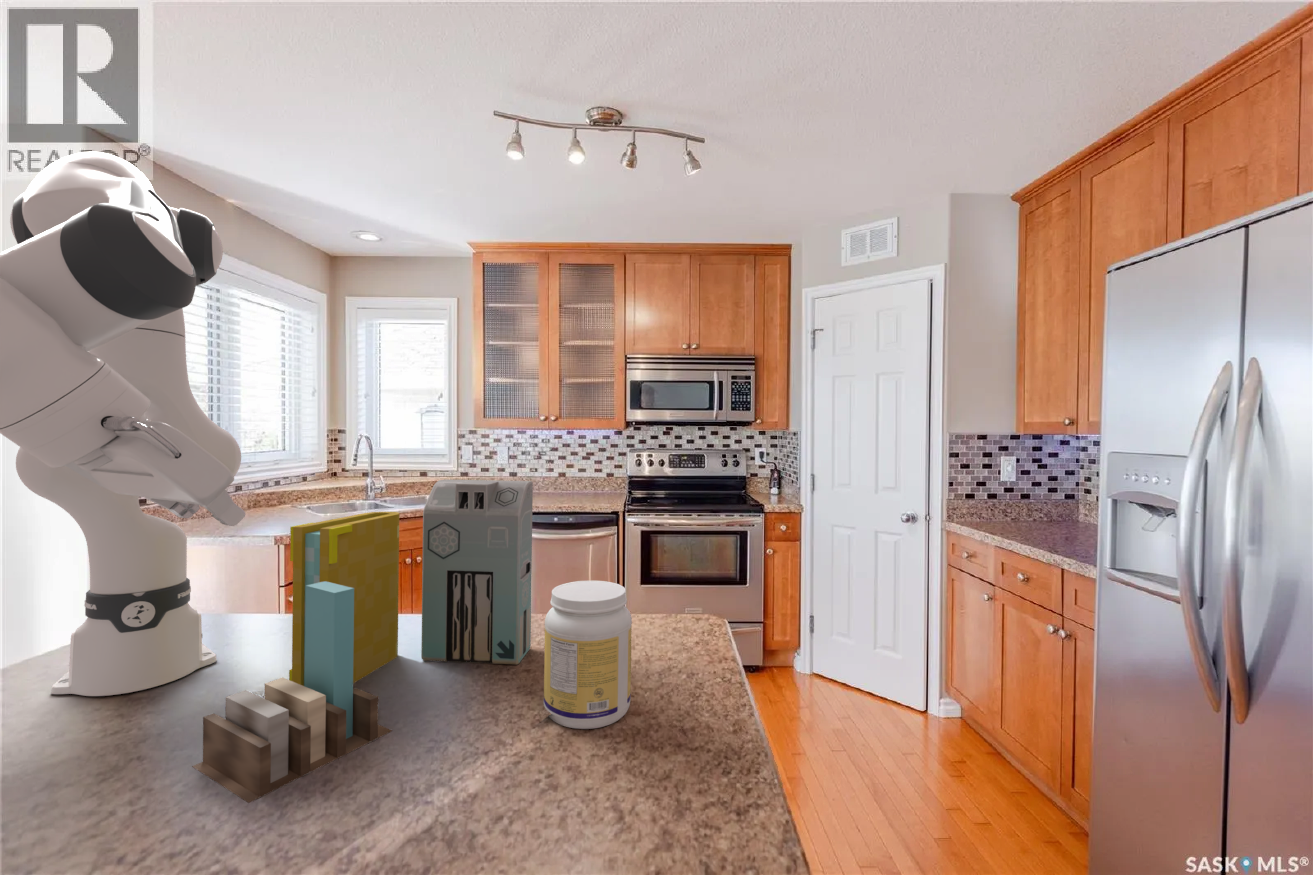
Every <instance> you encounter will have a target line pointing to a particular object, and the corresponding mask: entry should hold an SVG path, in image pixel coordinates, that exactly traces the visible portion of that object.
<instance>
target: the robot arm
mask: <svg viewBox="0 0 1313 875" xmlns="http://www.w3.org/2000/svg"><path fill="white" fill-rule="evenodd" d="M10 212H11V213H10V219H9V223H10V229H11V232H12V235H13V237H14V239H15V241H16V243H17V244H16V245H14V246H12V247H10V248H8V249H6V250H2V251H1V252H0V434H1V435H2V436H3V437H5V438H6V439H7V440H10V441H11V442H12V443H14V444H15V445H16V446H18V447H19V449H18V451H17V453H16V456H15V469H16V472H17V476H18V477H19V480H21V482H22V483H23V485H24V486H25V487H26V488H27V489H29V490H30V491H31V492H32V493H34V494H36V495H37V496H39V497H41V498H43V499H46V500H47V501H49V502H52V503H53V504H55V505H57V506H58V507H59V508H61V509H62V510H64V511H65V512H66V513H68V514H69V516H70V517H71V518H73V519H74V522H76V523H77V525H78V526H79V528H80V529H81V531H82V534H83V535H84V539H85V541H86V545H87V552H88V553H87V554H88V562H89V563H88V564H89V589H88V590H87V591H86V593H85V600H84V605H83V606H84V608H85V614H84V615H85V617H87V618H86V619H85V621H84V622H83V623H82V624H81V625H80V626H78V627H77V628H76V629H75V631H73V632H71V636H70V644H69V646H70V647H69V662H68V663H69V665H68V666H69V668H68V671H67V672H66V673H64V674H63V676H61V677H60V678H59V679H58V680H56V682H55V683H53V684H52V686H51V688H50V694H51V695H69V694H70V695H71V694H72V695H79V696H84V697H85V696H86V697H105V696H113V695H121V694H123V695H124V694H129V693H133V692H138V691H144V690H147V689H151V688H155V687H158V686H161V685H165V684H168V683H171V682H174V681H176V680H178V679H181V678H183V677H185V676H188V675H189V674H191V673H193V672H194V671H197V670H198V669H200V668H203V667H206V666H209V665H212V664H213V663H216V662H217V661H218V660H217V654H216V653H215V652H213V651H212V649H210V648H209V647H208V646H206V645H205V644H204V643H203V632H202V631H203V630H202V625H203V624H202V614H201V613H200V612H198V610H197V609H195V608H193V607H192V606H191V605H190V604H189V602H190V601H191V592H192V588H191V584H190V583H191V582H190V578H188V577H187V571H188V570H187V562H188V560H187V558H188V556H187V552H188V548H187V547H188V537H187V535H186V533H185V531H184V529H182V528H181V527H180V525H178V524H176V523H175V522H172V521H170V520H168V519H165V518H163V517H162V518H161V517H158V516H155V515H151V514H148V513H145V512H144V511H143V510H142V508H141V506H140V499H139V497H141V498H145V499H146V500H148V501H150V502H152V503H154V504H156V505H158V506H159V507H162V508H164V509H167V510H168V511H169V512H170V513H172V514H174V515H175V516H176V517H177V518H182V519H190V518H192V517H193V516H194V514H196V513H197V512H198V511H199V510H200V507H201V508H202V507H203V508H204V509H205V510H207V512H210V514H211V517H212V518H214V519H215V520H217V521H218V522H219V523H220V524H222V525H224V526H229V527H235V526H237V525H238V524H239V523H240V522H241V521H243V519H244V518H245V517H246V511H245V510H244V509H243V508H241V507H240V506H239V505H238V504H236V503H235V501H234V500H233V498H232V497H231V495H230V494H229V492H228V491H227V488H229V486H230V485H231V484H233V482H234V481H235V476H236V475H237V473H238V471H239V469H240V466H241V462H242V452H241V447H240V446H239V443H238V441H237V440H236V438H235V437H234V436H233V435H232V433H230V432H229V431H227V430H226V429H224V428H222V427H220V426H219V425H218V424H216V422H214V421H213V420H212V419H211V418H209V417H208V415H207V414H206V413H205V412H204V411H203V410H202V408H201V407H200V405H199V404H198V402H197V401H196V399H195V397H194V395H193V392H192V390H191V386H190V383H189V375H188V368H187V367H188V365H187V354H186V352H187V351H186V350H187V349H186V347H187V346H186V344H187V343H186V325H185V316H184V308H186V307H188V306H189V305H190V304H191V303H192V302H193V299H194V296H195V291H196V287H197V286H200V285H203V284H206V283H207V282H208V281H210V280H211V279H212V278H214V276H216V275H217V270H218V269H219V268H220V265H221V263H222V260H223V255H224V254H223V252H224V251H223V249H224V248H223V244H222V240H221V237H220V235H219V233H218V231H217V230H216V228H215V225H214V223H213V221H211V220H210V219H209V218H208V216H206V215H204V214H202V213H199V212H196V211H193V210H191V209H186V208H183V207H180V208H179V209H178V208H175V207H170V206H168V205H167V204H166V202H165V201H164V200H163V199H162V198H161V197H160V196H159V195H157V193H156V192H155V189H154V187H153V186H152V183H151V182H150V180H149V179H148V178H147V177H146V175H145V174H144V173H143V172H142V171H140V169H138V168H137V167H136V166H135V165H133V164H132V163H131V162H128V161H127V160H125V159H123V158H121V157H118V156H116V155H113V154H109V153H106V152H101V151H100V152H99V151H82V152H77V153H74V154H70V155H67V156H63V157H61V158H59V159H58V160H55V161H54V162H51V163H50V164H49V165H48V166H46V167H45V168H44V169H43V170H41V171H40V172H39V173H38V174H37V175H36V176H35V178H33V180H32V181H31V182H30V183H29V185H28V187H27V188H26V190H25V191H24V192H23V193H21V194H20V195H18V196H17V197H16V198H15V199H14V201H13V204H12V209H11V211H10Z"/></svg>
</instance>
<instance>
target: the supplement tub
mask: <svg viewBox="0 0 1313 875" xmlns="http://www.w3.org/2000/svg"><path fill="white" fill-rule="evenodd" d="M627 602H628V599H627V594H626V588H625V586H623V585H621V584H619V583H615V582H611V581H606V580H577V581H571V582H567V583H565V582H564V583H562V584H559V585H557V586H555V587H553V588H552V590H551V599H550V605H551V608H550V609H549V610H548V611H547V613H546V616H545V619H544V669H543V670H544V672H543V673H544V674H543V676H544V677H543V706H544V708H545V710H546V711H547V712H548V713H550V714H549V715H548V718H549V719H550V720H552V722H554V723H556V724H558V725H560V726H564V727H567V728H570V729H571V728H572V729H576V730H578V729H579V730H580V729H581V730H589V729H590V730H591V729H598V728H603V727H606V726H609V725H612V724H614V723H616V722H617V721H619V720H621V719H622V718H623V717H624V716H625V715H626V714H627V711H628V710H629V708H630V705H631V699H632V696H631V695H632V694H631V690H632V689H631V686H632V684H631V683H632V681H631V679H632V631H633V630H632V625H633V620H632V614H631V612H630V610H629V609H628V607H627V606H626V604H627Z"/></svg>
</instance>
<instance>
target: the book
mask: <svg viewBox="0 0 1313 875" xmlns="http://www.w3.org/2000/svg"><path fill="white" fill-rule="evenodd" d="M289 530H290V544H289V545H290V549H289V550H290V552H289V553H290V555H289V556H290V560H289V561H291V562H292V617H291V618H292V620H291V621H292V630H291V631H292V632H291V634H292V636H291V637H292V640H291V644H292V647H291V651H292V652H291V669H288V680H290V681H293V682H295V683H297V684H300V685H302V686H305V610H306V585H310V584H315V583H320V582H324V581H326V582H330V583H335V584H339V585H343V586H347V587H351V588H354V647H353V684H355V683H357V682H358V681H360V680H361V679H363V678H366V676H368V675H369V674H372V673H373V672H375V671H377V670H379V669H380V668H381V667H383V666H385V665H387V664H388V663H390V662H392V661H393V660H395V659H397V657H398V656H399V653H398V652H399V579H400V578H399V577H400V576H399V574H400V572H399V570H400V566H399V565H400V563H399V562H400V512H399V511H371V512H364V513H360V514H353V515H348V516H344V517H337V518H331V519H327V520H323V521H321V520H320V521H317V522H309V523H304V524H298V525H293V526H290V529H289Z"/></svg>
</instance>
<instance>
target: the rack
mask: <svg viewBox="0 0 1313 875" xmlns="http://www.w3.org/2000/svg"><path fill="white" fill-rule="evenodd" d="M202 719H203V720H202V723H203V725H202V761H201V762H199V763H196V764H194V765H192V766H191V767H192V768H194V769H195V770H197V771H198V772H200V773H201V774H203V775H204V776H206V777H207V778H209V779H211V780H212V781H214V782H215V783H216V784H218V785H220V786H221V787H222V788H224V789H226V790H228V791H229V792H231V793H232V794H234V795H235V796H237V797H238V798H240V799H241V800H243V801H245V802H246V803H248V804H249V803H252V802H253V801H256V800H258V799H259V798H261V797H262V798H263V797H264V796H266V795H267V794H270V793H272V792H273V791H276V790H278V789H279V788H282V787H283V786H285V785H288V784H289V783H292V782H294V781H295V780H298V779H299V778H300V779H301V777H303V776H305V775H307V774H310V773H312V772H314V771H316V770H317V769H319V768H321V767H324V766H326V765H327V764H329V763H331V762H333V761H335V760H337V759H338V760H339V758H341V757H343V756H346V755H347V754H349V753H352V752H353V751H355V750H357V749H360V748H361V747H364V746H365V745H367V744H370V743H371V742H373V741H375V740H377V739H379V738H382V737H384V736H385V735H387V734H389V733H391V732H393V729H390V728H388V727H386V726H383V725H380V724H379V696H377V695H375V694H372V693H369V692H367V691H364V690H363V689H362V690H361V689H360V688H356V687H354V686H353V736H351V737H349V738H347V739H346V710H344V709H342V708H339V707H337V706H334V705H332V704H330V703H327V702H326V727H325V757H323V758H321V759H319V760H317V761H315V762H313V763H311V764H310V750H311V726H310V725H308V724H306V723H303V722H301V721H299V720H297V719H295V718H293V717H291V716H289V732H288V775H286V776H284V777H282V778H280V779H278V780H276V781H274V782H272V783H270V782H271V743H270V742H268V741H266V740H264V739H262V738H260V737H258V736H256V735H254V734H252V733H251V732H249V731H247V730H245V729H243V728H241V727H239V726H237V725H235V724H233V723H232V722H230V721H228V720H226V719H225V718H224V717H222V716H220V715H218V714H216V713H214V712H213V713H210V714H208V715H205V716H203V717H202Z"/></svg>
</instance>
